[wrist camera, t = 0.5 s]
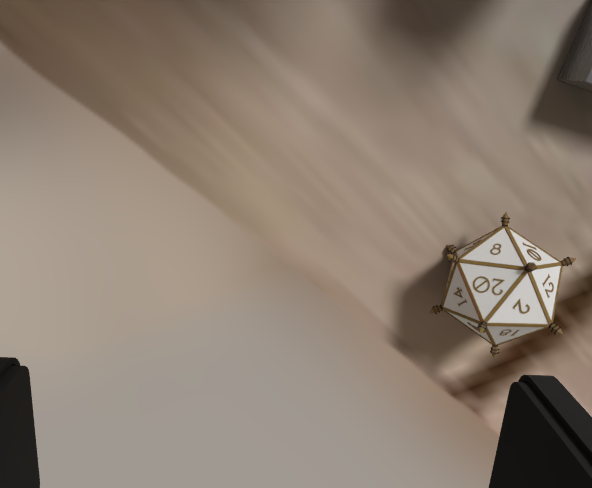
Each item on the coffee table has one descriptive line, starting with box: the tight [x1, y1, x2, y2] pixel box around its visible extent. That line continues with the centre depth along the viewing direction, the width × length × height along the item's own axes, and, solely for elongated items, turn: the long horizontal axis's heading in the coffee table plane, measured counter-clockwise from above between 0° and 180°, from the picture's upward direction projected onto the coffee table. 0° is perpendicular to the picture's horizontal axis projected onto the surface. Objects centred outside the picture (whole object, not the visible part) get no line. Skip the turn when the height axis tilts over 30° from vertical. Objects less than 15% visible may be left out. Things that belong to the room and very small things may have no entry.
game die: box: [430, 213, 576, 357], centre depth 37 cm, size 9×8×10 cm
